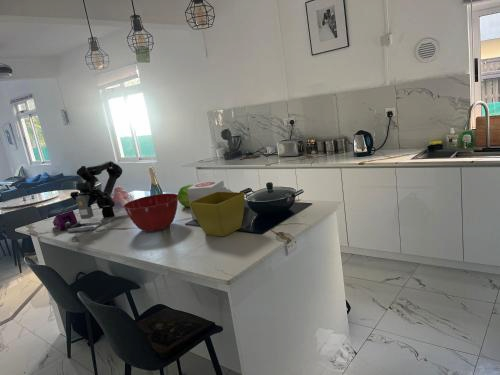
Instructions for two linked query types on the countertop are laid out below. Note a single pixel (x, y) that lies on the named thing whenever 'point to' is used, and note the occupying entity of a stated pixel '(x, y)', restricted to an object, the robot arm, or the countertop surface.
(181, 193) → the lettuce
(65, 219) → the mounting bracket
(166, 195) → the mixing bowl
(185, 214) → the countertop surface
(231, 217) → the flower pot
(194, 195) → the pizza boxes
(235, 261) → the countertop surface
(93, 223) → the rail plate
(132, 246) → the countertop surface
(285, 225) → the countertop surface
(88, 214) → the block
